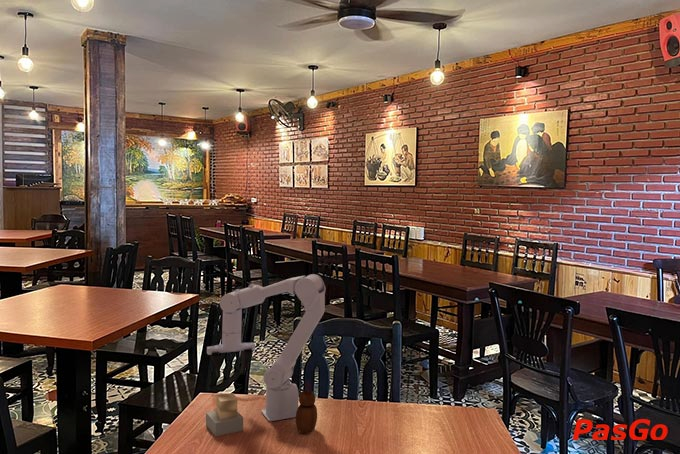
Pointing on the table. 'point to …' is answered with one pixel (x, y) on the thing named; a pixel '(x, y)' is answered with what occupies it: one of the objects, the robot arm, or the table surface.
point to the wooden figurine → (306, 411)
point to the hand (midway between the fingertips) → (230, 374)
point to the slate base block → (223, 423)
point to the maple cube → (226, 406)
